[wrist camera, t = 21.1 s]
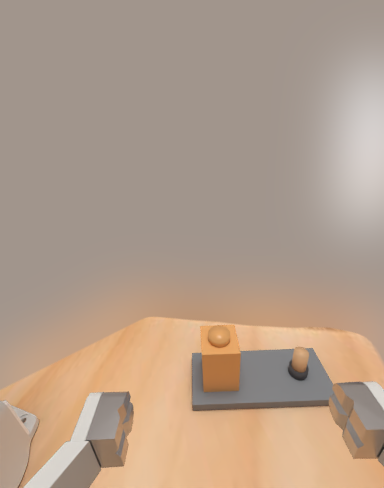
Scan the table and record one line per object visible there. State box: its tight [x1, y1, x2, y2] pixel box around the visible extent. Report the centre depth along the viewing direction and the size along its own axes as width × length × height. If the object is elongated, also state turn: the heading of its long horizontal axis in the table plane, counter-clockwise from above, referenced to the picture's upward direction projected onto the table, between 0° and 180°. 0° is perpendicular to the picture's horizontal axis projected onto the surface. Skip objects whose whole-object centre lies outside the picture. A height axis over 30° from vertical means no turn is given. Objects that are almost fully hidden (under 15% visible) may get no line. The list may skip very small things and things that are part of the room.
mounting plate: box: [192, 347, 334, 411], centre depth 42 cm, size 24×10×6 cm, turn 90°
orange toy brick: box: [200, 325, 241, 392], centre depth 41 cm, size 6×6×10 cm
